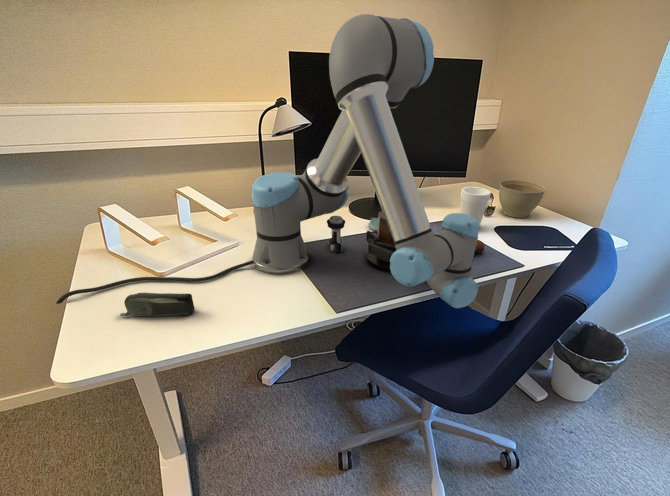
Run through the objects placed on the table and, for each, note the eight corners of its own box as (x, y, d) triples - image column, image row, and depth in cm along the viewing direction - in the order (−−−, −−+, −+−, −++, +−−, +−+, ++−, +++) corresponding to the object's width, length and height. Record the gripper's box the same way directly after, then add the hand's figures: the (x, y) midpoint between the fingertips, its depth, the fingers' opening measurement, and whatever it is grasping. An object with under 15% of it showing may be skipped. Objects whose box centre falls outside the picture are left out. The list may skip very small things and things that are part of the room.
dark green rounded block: (192, 290, 87) (118, 292, 85) (189, 297, 85) (112, 299, 82) (196, 309, 90) (124, 311, 87) (193, 316, 87) (119, 319, 85)
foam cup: (488, 231, 136) (496, 194, 129) (465, 234, 133) (472, 196, 126) (472, 221, 143) (479, 185, 136) (450, 224, 140) (456, 187, 133)
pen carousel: (369, 255, 112) (372, 205, 105) (390, 245, 118) (394, 198, 111) (396, 266, 107) (401, 215, 99) (417, 255, 113) (422, 206, 106)
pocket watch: (384, 206, 121) (360, 192, 132) (382, 239, 127) (359, 223, 138) (411, 201, 125) (386, 188, 136) (407, 233, 131) (384, 218, 142)
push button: (321, 246, 120) (321, 215, 115) (336, 243, 123) (336, 212, 117) (333, 255, 115) (332, 222, 110) (348, 251, 118) (348, 219, 113)
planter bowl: (538, 224, 143) (546, 194, 137) (492, 217, 147) (499, 188, 141) (536, 210, 156) (544, 182, 150) (494, 204, 160) (500, 177, 154)
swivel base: (380, 277, 105) (380, 271, 105) (358, 253, 117) (359, 248, 116) (428, 268, 111) (429, 263, 110) (403, 246, 122) (403, 242, 121)
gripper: (381, 287, 94) (348, 250, 110) (467, 270, 103) (425, 238, 119) (383, 258, 90) (349, 225, 106) (473, 243, 99) (428, 215, 115)
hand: (389, 232), depth 112 cm, fingers open, 13 cm apart
